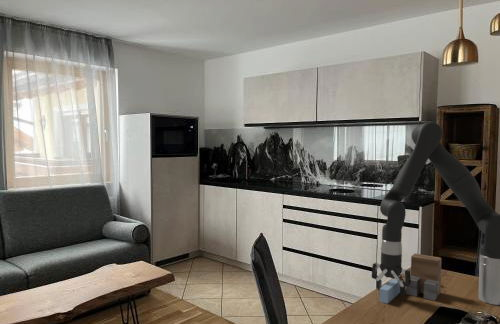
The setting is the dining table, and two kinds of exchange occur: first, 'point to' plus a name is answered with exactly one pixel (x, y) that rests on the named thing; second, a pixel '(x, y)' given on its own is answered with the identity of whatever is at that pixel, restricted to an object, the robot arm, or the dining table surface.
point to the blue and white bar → (389, 291)
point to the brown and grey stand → (425, 276)
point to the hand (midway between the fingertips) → (390, 292)
